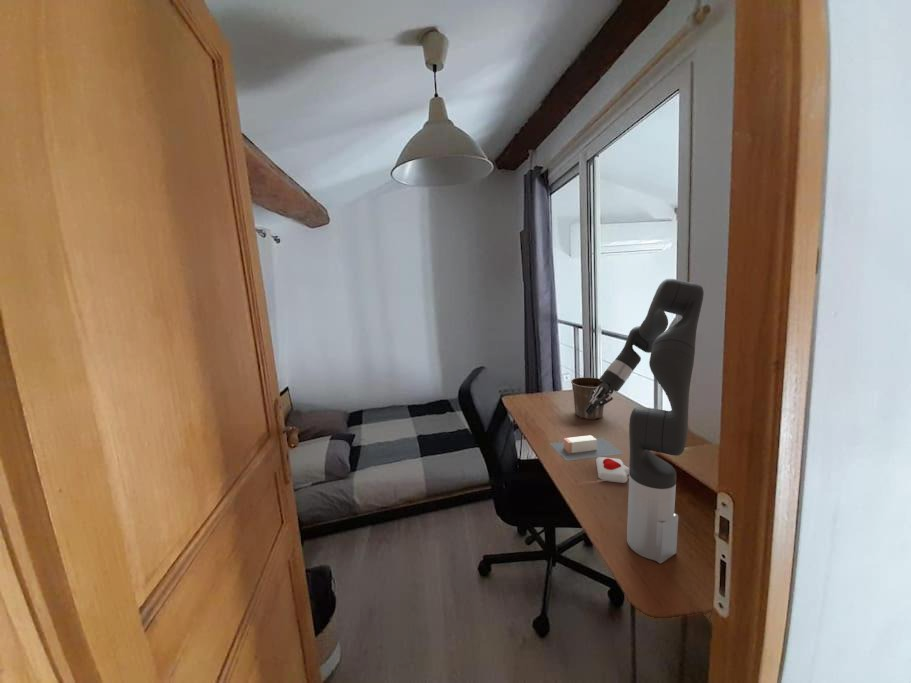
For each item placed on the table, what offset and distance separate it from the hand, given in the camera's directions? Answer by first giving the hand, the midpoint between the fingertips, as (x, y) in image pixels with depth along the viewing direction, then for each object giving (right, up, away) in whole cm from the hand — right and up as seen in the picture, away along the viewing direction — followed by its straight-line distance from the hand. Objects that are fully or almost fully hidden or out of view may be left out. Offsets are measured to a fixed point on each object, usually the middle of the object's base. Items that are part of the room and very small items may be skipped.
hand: (586, 413), depth 126 cm
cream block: (+4, -12, +3) cm, 13 cm away
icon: (+4, -17, -13) cm, 22 cm away
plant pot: (+15, -9, +37) cm, 41 cm away
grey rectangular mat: (+1, -14, +3) cm, 15 cm away
